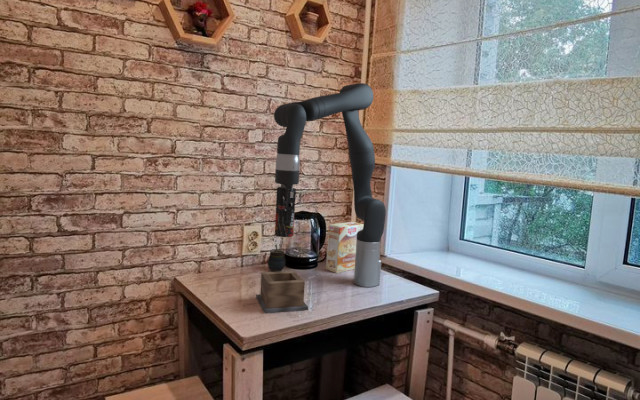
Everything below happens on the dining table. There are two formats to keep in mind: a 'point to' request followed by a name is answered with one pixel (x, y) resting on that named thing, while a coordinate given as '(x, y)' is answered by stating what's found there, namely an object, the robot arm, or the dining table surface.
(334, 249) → the coffeecake box
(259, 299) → the sleeve holder
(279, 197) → the deodorant
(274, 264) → the mate gourd
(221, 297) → the dining table surface
